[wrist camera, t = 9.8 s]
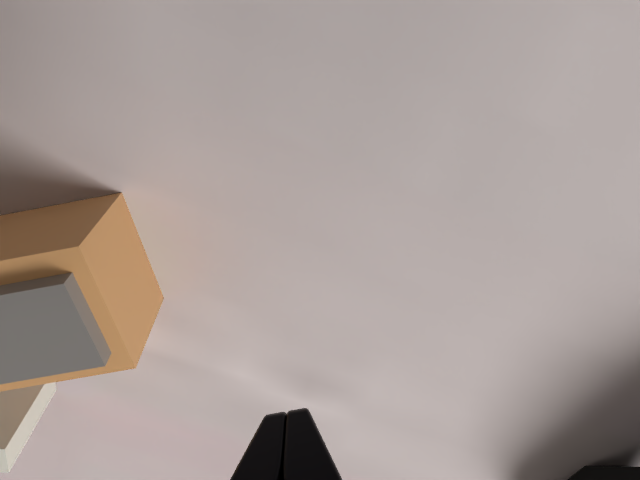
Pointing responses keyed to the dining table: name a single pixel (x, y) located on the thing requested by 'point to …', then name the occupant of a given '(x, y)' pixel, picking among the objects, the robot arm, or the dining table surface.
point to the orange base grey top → (73, 292)
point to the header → (20, 419)
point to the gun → (607, 473)
